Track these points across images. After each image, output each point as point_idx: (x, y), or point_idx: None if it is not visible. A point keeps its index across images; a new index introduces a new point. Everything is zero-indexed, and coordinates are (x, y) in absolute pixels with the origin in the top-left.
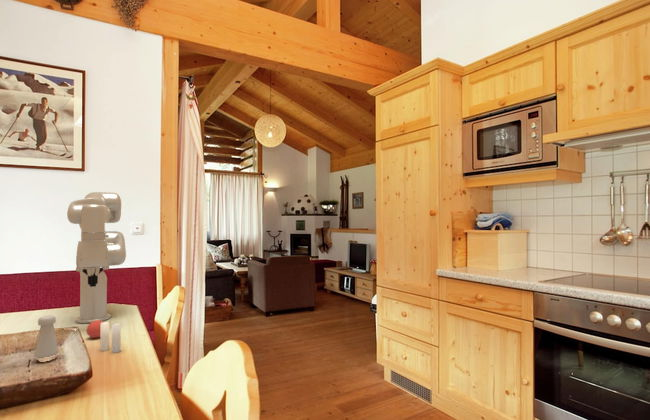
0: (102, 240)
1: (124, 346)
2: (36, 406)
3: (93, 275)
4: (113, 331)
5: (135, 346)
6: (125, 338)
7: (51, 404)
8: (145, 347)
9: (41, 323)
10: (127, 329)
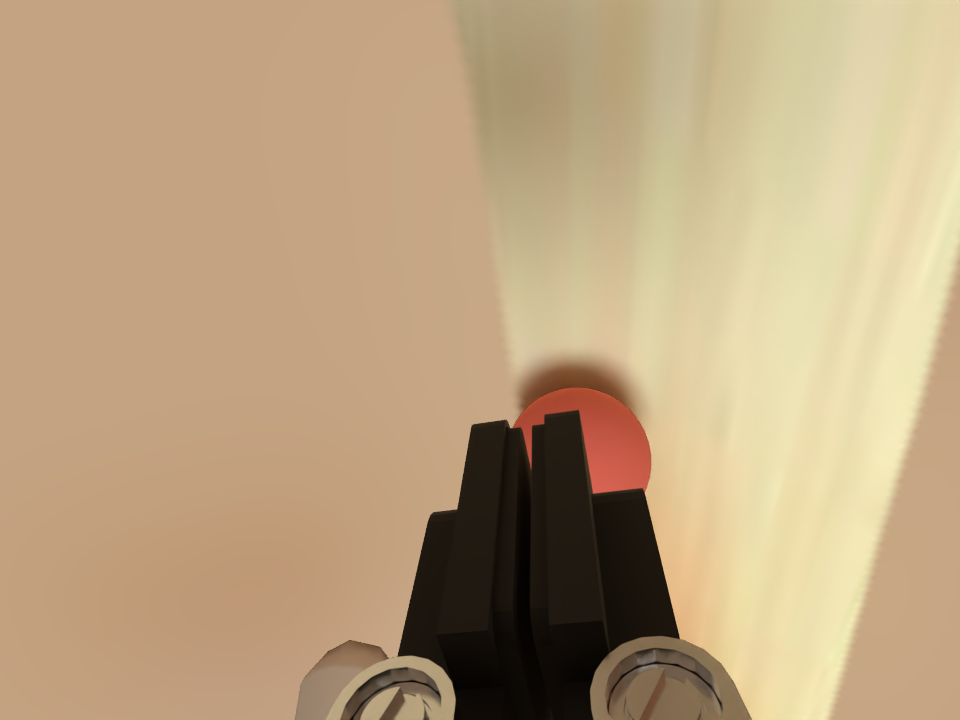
0: None
1: (716, 657)
2: None
3: (567, 698)
4: None
5: (769, 682)
6: (752, 529)
7: None
8: (810, 715)
9: None
10: (822, 302)
